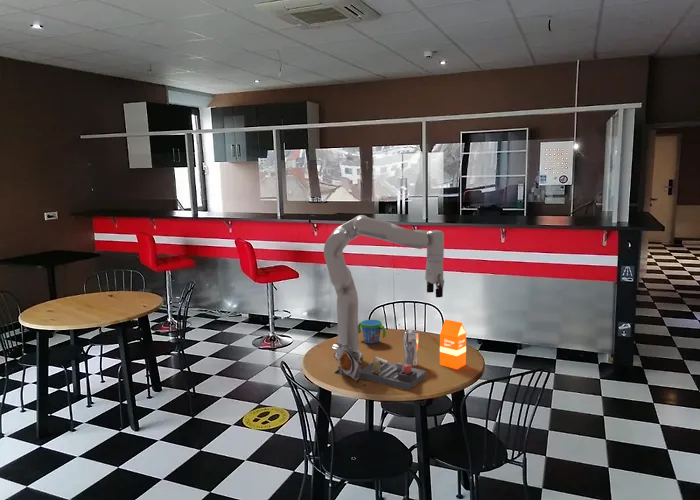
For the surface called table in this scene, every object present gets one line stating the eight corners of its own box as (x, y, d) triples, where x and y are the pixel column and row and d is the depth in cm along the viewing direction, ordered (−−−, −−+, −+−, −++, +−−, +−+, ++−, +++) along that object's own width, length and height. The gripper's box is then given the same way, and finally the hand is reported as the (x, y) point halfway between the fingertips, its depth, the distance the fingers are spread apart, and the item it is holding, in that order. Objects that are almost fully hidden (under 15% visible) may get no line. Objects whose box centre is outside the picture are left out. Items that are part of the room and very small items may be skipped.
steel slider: (396, 371, 218) (396, 363, 218) (398, 369, 220) (398, 362, 219) (402, 372, 216) (402, 365, 216) (404, 371, 218) (404, 363, 217)
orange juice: (456, 369, 226) (457, 324, 223) (439, 364, 232) (439, 321, 229) (466, 364, 232) (466, 320, 229) (448, 359, 238) (449, 317, 235)
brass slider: (373, 373, 216) (372, 360, 215) (375, 371, 218) (375, 358, 217) (378, 374, 215) (378, 361, 214) (381, 373, 216) (381, 360, 215)
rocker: (373, 359, 228) (374, 357, 228) (376, 358, 230) (376, 356, 230) (385, 364, 225) (385, 362, 225) (387, 363, 227) (388, 361, 227)
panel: (357, 377, 219) (357, 366, 218) (377, 365, 232) (377, 354, 231) (408, 390, 206) (408, 378, 205) (426, 376, 219) (426, 365, 218)
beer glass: (409, 368, 229) (409, 335, 226) (400, 362, 235) (400, 330, 232) (422, 365, 232) (422, 332, 229) (413, 360, 238) (413, 328, 236)
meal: (332, 373, 224) (332, 344, 222) (340, 370, 227) (340, 341, 225) (354, 384, 212) (354, 353, 210) (362, 381, 215) (362, 351, 213)
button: (401, 374, 210) (401, 366, 209) (405, 371, 213) (405, 363, 212) (409, 376, 208) (409, 367, 208) (412, 373, 211) (412, 365, 210)
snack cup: (353, 341, 265) (352, 321, 264) (366, 336, 273) (366, 317, 272) (377, 347, 255) (377, 327, 254) (390, 342, 263) (390, 322, 261)
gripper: (419, 255, 244) (419, 291, 246) (435, 261, 227) (434, 299, 230) (434, 254, 246) (434, 290, 248) (451, 260, 229) (450, 298, 232)
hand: (434, 294), depth 239 cm, fingers open, 9 cm apart
